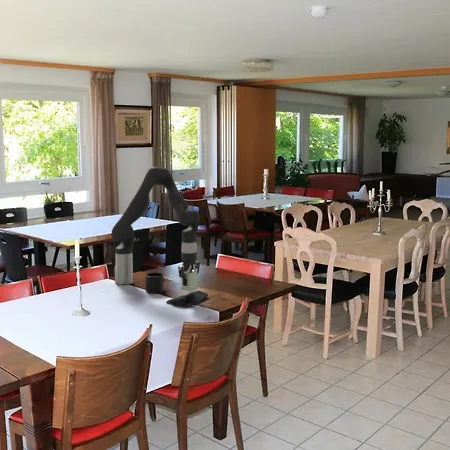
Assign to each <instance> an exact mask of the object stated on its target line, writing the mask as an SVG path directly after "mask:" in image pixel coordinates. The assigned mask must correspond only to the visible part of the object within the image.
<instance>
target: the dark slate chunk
mask: <svg viewBox="0 0 450 450" xmlns="http://www.w3.org/2000/svg"><path fill="white" fill-rule="evenodd" d="M207 297H209V293H208V292H204V291H202V290H194V291H189V293H187V294H186V293H185V294H183V295H179V296H176V297H174V298H171V299H168V300H166V301H165V303H166V305H169V306H173V307H177V308H185V309H186V308H188V309H191V308H192V307H195V306H196V305H198V304H199V303H200V302H202V301H204V300H205V299H206V298H207Z"/></svg>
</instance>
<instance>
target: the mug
mask: <svg viewBox="0 0 450 450" xmlns="http://www.w3.org/2000/svg"><path fill="white" fill-rule="evenodd" d="M144 278H145V292H146V293H147V292H148V294H160V293H163V292H164V290H165V289H164V284H165V278H164V273H162V272H148V273H146V274H145V277H144Z"/></svg>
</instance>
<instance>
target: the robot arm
mask: <svg viewBox="0 0 450 450" xmlns="http://www.w3.org/2000/svg"><path fill="white" fill-rule="evenodd" d="M154 186H162V187H164V188H165V189H166V190H167V198H168V202H169V204H170V205H171V207H172V208H173V210H174V211H175V214H176V217H177V221H178V222H179V224H180V225H182V226H188V227H187V228H186V229H184V230H182V232H181V261H182V265H178V266H177V270H178V276H179V278H180V279H181V278H183V285H184V286H187V274H188V273H189V272H195V271H197V275H199V273H200V267H201V266H200V265H201V262H200V261H197V260H198V245H197V244H198V243H197V233H198V228H199V225H200V221H201V217H200V212H198V211H197V210H196V209H190V210H188V208H189V204H188V202H187V201H186V199H185V198H184V197H183V195H182V194H181V192H180V190H179V189H178V187H177V185H176V182H175V180H174V178H173V176H172V174H171V171H170V170H169V169H167V168H165V167H161V166H160V167H159V166H151V167H150V168H149V169H148V170H147V172H146V174H145V176H144V178H143V180H142V182H141V185H140V186H139V188H138V190H137V191H136V193H135V195H134V196H133V198H132V199H131V201H130V203H129V204H128V206H127V208H126V209H125V211H124V212H123V214H122V216H121V217H120V218H119V219H118V220H117V222H116V223H115V224H114V226H113V227H112V230H111V237H112V238H111V239H112V240H113V241H114V242H119V245H117V246H116V247H115V251H114V253H115V266H114V283H117V284H116V285H119V284H128V285H131V284H133V283H134V279H133V278H134V277H133V274H134V272H133V266H134V265H133V249H134V244H135V243H134V242H135V241H134V239H135V236H134V235H135V231H134V228H133V226H132V225H133V224H134V223H135V222H136V221H138V220H139V219H140V218H141V217H143V215H144V214H145V213H146V211H147V210H148V208H149V207H150V204H151V203H150V202H151V201H150V200H151V199H150V193H151V191H152V189H153V188H154ZM185 271H187V272H185ZM181 274H182V275H181ZM184 274H186V275H185V276H184Z"/></svg>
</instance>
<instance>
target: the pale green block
mask: <svg viewBox="0 0 450 450" xmlns="http://www.w3.org/2000/svg"><path fill="white" fill-rule="evenodd" d="M185 272H187V271H185ZM181 275H182V274H181ZM185 275H186V274H184V276H185ZM180 279H181V284H180V286H181V287H180V289H181V290H182V291H187V292H194V291H197V290H198V274H197V270H196V271H195V272H189V273H188V274H187V286H184V285H183V278H180Z"/></svg>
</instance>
